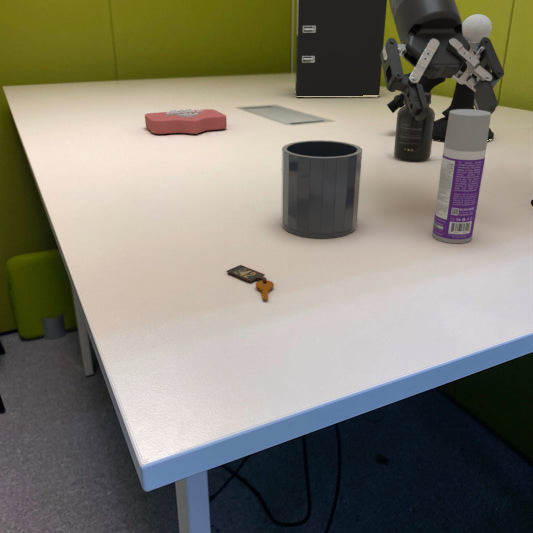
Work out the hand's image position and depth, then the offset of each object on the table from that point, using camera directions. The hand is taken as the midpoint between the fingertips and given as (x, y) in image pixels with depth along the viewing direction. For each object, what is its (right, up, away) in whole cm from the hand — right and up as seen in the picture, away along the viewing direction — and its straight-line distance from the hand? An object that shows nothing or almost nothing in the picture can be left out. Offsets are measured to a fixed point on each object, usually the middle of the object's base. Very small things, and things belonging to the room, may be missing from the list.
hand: (456, 115), depth 64 cm
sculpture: (+16, +12, +60) cm, 63 cm away
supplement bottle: (+5, +3, +41) cm, 41 cm away
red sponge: (-41, +15, +67) cm, 80 cm away
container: (+1, -14, +4) cm, 15 cm away
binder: (+1, +40, +122) cm, 128 cm away
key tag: (-24, -20, -8) cm, 32 cm away
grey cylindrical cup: (-15, -12, +8) cm, 21 cm away
